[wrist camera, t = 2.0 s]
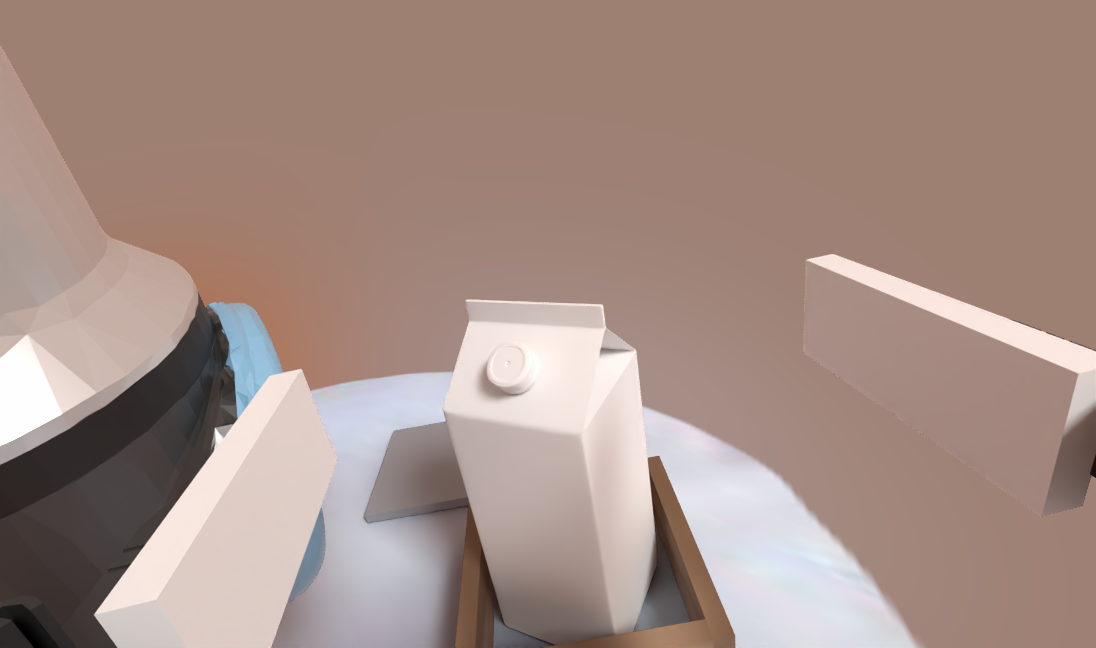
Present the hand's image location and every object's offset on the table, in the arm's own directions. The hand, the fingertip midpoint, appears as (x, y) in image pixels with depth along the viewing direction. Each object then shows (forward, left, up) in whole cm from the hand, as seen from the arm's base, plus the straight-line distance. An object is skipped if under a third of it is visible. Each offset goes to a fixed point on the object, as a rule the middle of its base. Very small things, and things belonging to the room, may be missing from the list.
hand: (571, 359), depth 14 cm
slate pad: (-11, +25, -21) cm, 35 cm away
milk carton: (-1, +10, -21) cm, 24 cm away
